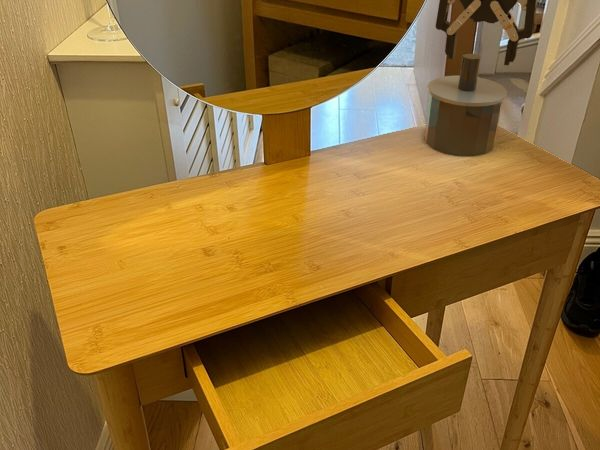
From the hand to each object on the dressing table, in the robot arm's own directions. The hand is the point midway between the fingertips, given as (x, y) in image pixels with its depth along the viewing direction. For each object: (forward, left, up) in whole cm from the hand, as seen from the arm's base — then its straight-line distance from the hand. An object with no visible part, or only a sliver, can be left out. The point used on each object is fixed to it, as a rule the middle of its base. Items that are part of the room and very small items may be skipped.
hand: (479, 60), depth 98 cm
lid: (+1, 0, -5) cm, 5 cm away
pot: (+1, 0, -16) cm, 16 cm away
